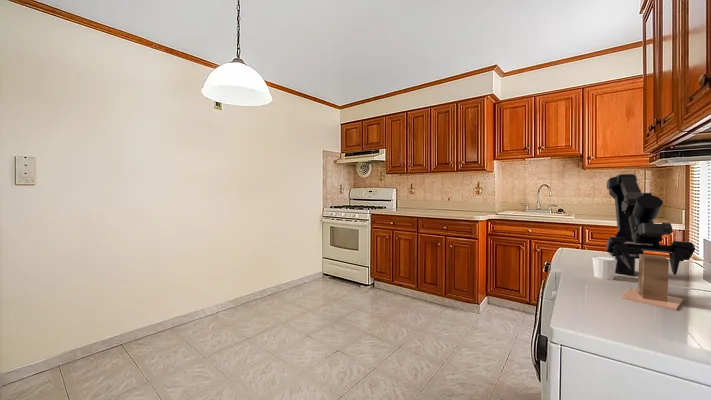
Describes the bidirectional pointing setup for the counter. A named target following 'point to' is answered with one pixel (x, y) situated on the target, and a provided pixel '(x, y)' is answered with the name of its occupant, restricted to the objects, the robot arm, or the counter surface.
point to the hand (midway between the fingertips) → (652, 271)
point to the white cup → (604, 267)
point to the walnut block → (653, 277)
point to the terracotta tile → (670, 304)
